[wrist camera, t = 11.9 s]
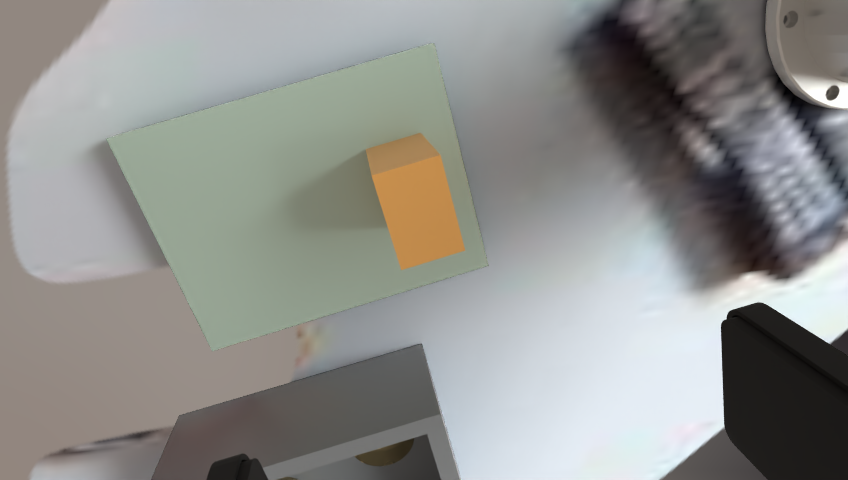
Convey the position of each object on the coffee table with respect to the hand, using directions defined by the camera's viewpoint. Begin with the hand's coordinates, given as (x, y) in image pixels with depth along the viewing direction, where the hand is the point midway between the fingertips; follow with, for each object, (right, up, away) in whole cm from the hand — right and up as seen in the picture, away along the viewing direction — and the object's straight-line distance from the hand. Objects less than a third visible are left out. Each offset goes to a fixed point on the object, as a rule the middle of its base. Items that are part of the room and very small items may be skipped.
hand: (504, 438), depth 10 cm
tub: (-8, -10, +26) cm, 29 cm away
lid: (-8, +6, +20) cm, 22 cm away
